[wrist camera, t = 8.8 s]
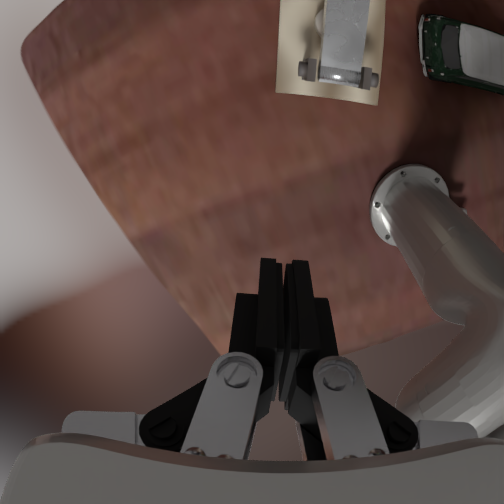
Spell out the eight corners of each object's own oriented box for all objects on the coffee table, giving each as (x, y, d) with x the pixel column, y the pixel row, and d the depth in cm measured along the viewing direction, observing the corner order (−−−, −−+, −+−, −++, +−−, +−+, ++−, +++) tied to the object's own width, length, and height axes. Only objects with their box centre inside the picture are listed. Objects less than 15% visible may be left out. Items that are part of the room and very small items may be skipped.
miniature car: (511, 97, 28) (546, 109, 22) (414, 77, 30) (445, 82, 23) (510, 42, 24) (546, 46, 17) (410, 13, 25) (440, 4, 19)
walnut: (353, 12, 25) (364, 5, 22) (351, 45, 28) (362, 43, 24) (314, 5, 25) (321, -3, 22) (313, 39, 28) (319, 35, 24)
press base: (381, -49, 21) (400, -65, 15) (373, 104, 33) (393, 112, 27) (283, -66, 21) (285, -88, 15) (275, 91, 33) (276, 95, 27)
